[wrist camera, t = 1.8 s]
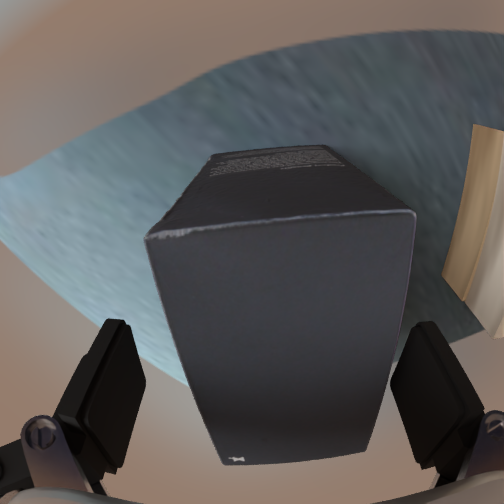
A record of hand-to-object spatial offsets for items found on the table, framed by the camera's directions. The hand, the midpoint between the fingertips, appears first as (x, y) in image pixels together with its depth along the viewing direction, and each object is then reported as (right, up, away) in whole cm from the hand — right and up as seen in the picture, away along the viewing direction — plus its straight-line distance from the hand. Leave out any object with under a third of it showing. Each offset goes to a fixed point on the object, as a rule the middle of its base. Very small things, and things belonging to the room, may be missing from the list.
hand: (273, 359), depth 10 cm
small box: (+1, +4, +8) cm, 9 cm away
